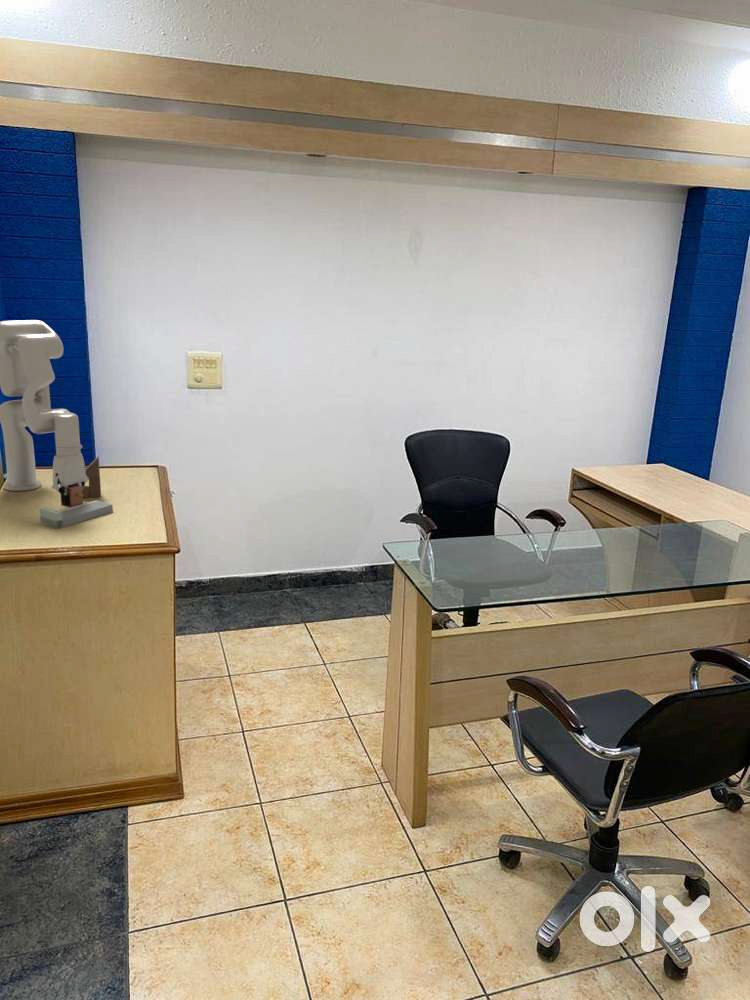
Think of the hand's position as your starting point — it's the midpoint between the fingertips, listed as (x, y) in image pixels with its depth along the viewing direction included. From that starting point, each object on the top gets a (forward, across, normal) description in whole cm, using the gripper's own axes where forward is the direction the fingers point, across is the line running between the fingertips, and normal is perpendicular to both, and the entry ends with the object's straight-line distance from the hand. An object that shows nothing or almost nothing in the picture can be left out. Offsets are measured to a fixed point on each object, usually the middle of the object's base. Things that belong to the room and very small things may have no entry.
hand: (72, 503), depth 266 cm
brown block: (+1, 0, +1) cm, 2 cm away
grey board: (+2, +4, +8) cm, 10 cm away
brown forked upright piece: (+2, -13, -9) cm, 16 cm away
